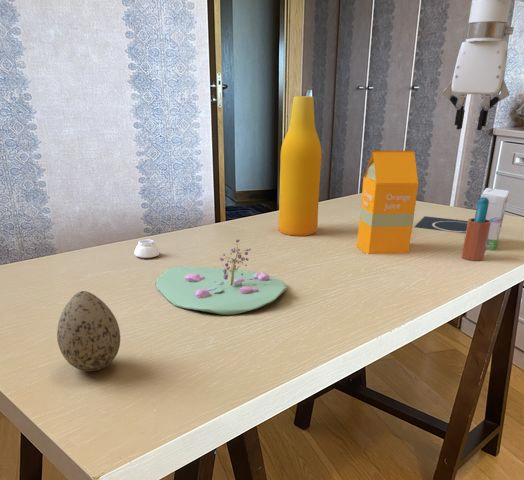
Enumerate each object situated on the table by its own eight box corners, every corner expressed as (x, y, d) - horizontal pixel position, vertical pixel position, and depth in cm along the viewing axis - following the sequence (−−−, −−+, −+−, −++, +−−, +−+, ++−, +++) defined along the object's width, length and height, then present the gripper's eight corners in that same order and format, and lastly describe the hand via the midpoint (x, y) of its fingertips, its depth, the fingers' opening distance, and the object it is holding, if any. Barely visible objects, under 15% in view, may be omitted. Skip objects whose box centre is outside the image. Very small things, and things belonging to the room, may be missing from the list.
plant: (118, 293, 88) (112, 239, 84) (193, 261, 104) (191, 215, 100) (246, 326, 77) (246, 266, 73) (308, 285, 93) (311, 234, 89)
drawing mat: (496, 225, 134) (497, 223, 134) (490, 240, 121) (491, 238, 121) (424, 217, 141) (424, 215, 141) (411, 230, 128) (411, 228, 128)
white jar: (145, 250, 110) (129, 256, 106) (144, 236, 109) (127, 242, 105) (164, 254, 108) (149, 260, 104) (163, 240, 106) (148, 246, 103)
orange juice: (408, 255, 110) (423, 152, 101) (368, 256, 109) (379, 153, 100) (394, 244, 117) (407, 148, 108) (356, 245, 115) (365, 148, 106)
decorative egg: (57, 362, 66) (43, 287, 62) (114, 350, 69) (104, 277, 65) (70, 388, 61) (56, 308, 56) (131, 373, 64) (122, 296, 59)
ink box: (494, 252, 112) (507, 196, 107) (470, 249, 114) (481, 193, 109) (498, 243, 119) (510, 189, 114) (475, 240, 121) (485, 187, 116)
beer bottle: (270, 231, 126) (273, 95, 113) (294, 224, 132) (300, 95, 119) (300, 238, 120) (307, 97, 107) (324, 231, 126) (334, 96, 113)
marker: (478, 257, 107) (490, 196, 102) (476, 259, 106) (489, 198, 100) (467, 255, 108) (479, 195, 103) (466, 258, 107) (478, 197, 101)
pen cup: (483, 258, 108) (492, 219, 105) (481, 264, 105) (490, 224, 101) (462, 256, 110) (469, 217, 106) (459, 261, 106) (467, 221, 103)
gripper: (530, 34, 110) (510, 130, 118) (447, 36, 116) (434, 126, 125) (528, 31, 104) (507, 132, 112) (441, 33, 110) (427, 128, 119)
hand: (469, 128), depth 118 cm, fingers open, 3 cm apart
